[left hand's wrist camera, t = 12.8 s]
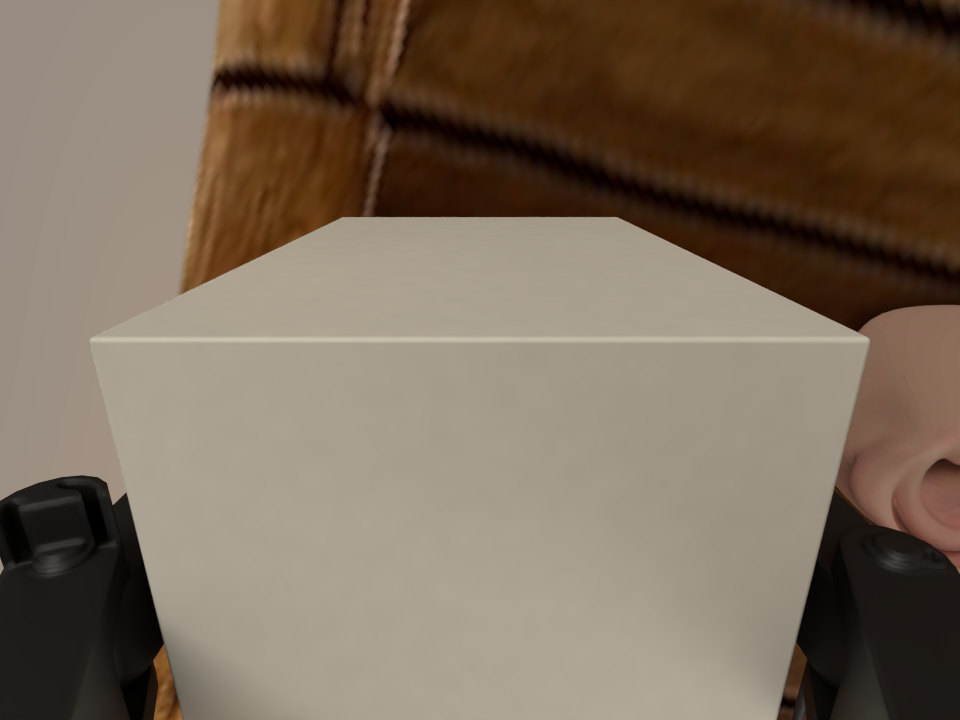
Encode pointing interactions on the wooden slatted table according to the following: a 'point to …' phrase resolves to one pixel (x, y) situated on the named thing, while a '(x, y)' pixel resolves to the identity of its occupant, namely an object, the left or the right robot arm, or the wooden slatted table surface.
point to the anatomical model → (909, 427)
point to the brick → (479, 474)
